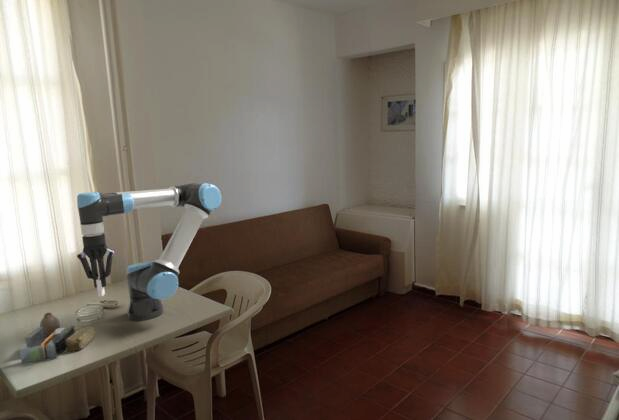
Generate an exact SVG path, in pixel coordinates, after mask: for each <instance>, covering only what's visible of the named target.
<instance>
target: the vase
mask: <svg viewBox="0 0 619 420" xmlns="http://www.w3.org/2000/svg"><path fill="white" fill-rule="evenodd" d="M39 327H43V330H44V336H45V337H49V336H50V335H51V334H52V333H53V332H54V331H55V330H56V329H58V328H61V324H60V321H59V318H57V316H55V315H54V314H53V313H52V312H46V313H44V315H43V317H42V319H41V320H40V323H39Z"/></svg>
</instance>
